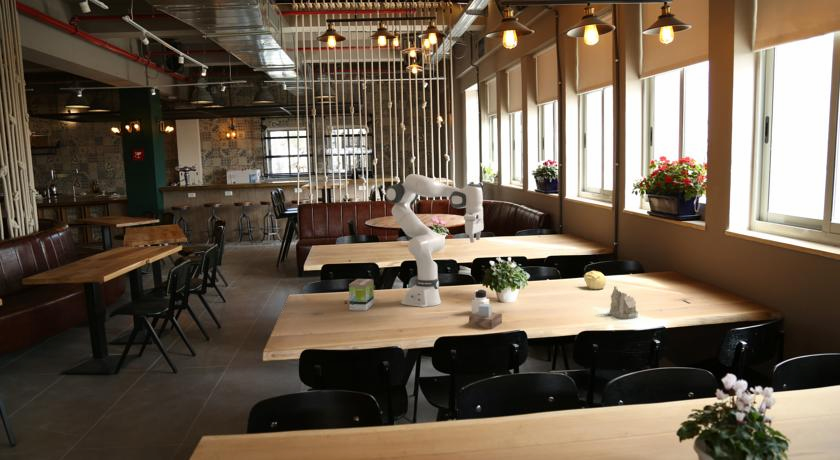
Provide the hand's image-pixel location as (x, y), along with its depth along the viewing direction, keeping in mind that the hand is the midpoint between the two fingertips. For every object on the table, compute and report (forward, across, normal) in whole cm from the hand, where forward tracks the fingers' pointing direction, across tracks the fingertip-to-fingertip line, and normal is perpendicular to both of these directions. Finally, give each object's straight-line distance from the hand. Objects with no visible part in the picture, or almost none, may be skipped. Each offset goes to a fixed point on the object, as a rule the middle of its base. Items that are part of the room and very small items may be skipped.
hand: (475, 241), depth 321 cm
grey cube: (+33, +25, +13) cm, 43 cm away
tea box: (+37, +13, -62) cm, 74 cm away
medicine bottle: (+37, +5, +4) cm, 38 cm away
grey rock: (+38, -14, +75) cm, 85 cm away
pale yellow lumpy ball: (+37, -69, +53) cm, 95 cm away
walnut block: (+38, +25, +13) cm, 47 cm away
